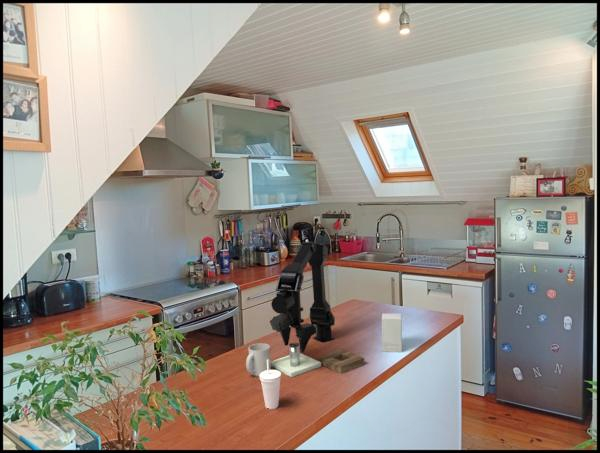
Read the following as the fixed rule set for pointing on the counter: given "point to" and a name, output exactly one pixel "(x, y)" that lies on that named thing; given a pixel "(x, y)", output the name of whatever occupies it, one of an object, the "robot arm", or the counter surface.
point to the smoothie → (270, 386)
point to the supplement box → (391, 333)
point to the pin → (294, 354)
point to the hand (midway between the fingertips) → (294, 348)
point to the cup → (258, 358)
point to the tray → (290, 371)
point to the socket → (342, 361)
